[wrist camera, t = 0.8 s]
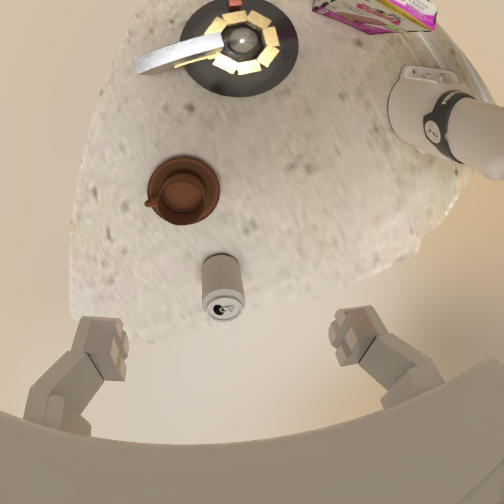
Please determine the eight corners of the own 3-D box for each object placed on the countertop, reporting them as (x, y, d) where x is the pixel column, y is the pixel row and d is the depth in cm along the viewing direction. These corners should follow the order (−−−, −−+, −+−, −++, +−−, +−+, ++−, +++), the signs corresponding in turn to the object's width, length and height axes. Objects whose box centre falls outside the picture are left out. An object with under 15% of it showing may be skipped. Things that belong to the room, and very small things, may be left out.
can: (197, 257, 53) (196, 301, 43) (234, 248, 53) (241, 291, 43) (207, 284, 57) (209, 328, 48) (242, 276, 57) (250, 320, 48)
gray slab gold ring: (266, 10, 26) (281, -7, 19) (281, 67, 32) (300, 64, 25) (142, 41, 27) (124, 32, 20) (160, 98, 33) (146, 103, 25)
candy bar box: (310, 12, 28) (362, -12, 15) (316, -10, 26) (367, -41, 13) (370, 37, 31) (435, 33, 18) (375, 15, 28) (439, 6, 15)
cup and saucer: (171, 229, 49) (167, 249, 44) (136, 175, 41) (127, 190, 37) (230, 202, 47) (233, 219, 42) (200, 142, 40) (198, 152, 35)
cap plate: (268, -15, 25) (276, -27, 20) (310, 75, 35) (324, 75, 30) (162, 24, 27) (155, 16, 22) (209, 113, 37) (209, 119, 33)
